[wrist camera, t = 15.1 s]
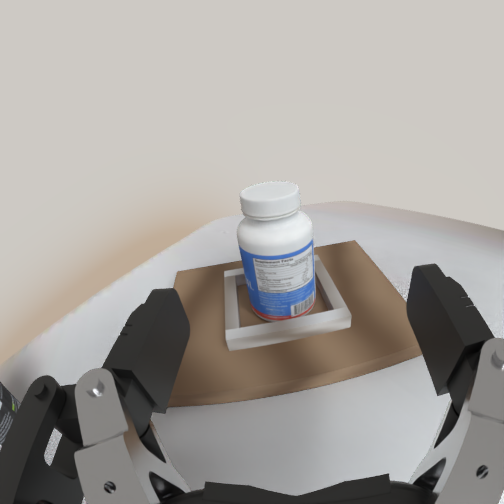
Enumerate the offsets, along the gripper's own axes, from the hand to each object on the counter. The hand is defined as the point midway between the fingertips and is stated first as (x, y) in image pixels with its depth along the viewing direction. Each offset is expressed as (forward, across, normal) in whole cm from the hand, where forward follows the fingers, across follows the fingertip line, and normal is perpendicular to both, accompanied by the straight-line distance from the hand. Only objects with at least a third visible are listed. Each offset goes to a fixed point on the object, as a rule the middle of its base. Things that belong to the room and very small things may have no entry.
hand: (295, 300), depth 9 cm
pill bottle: (+11, +1, +10) cm, 15 cm away
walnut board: (+11, +2, +11) cm, 16 cm away
